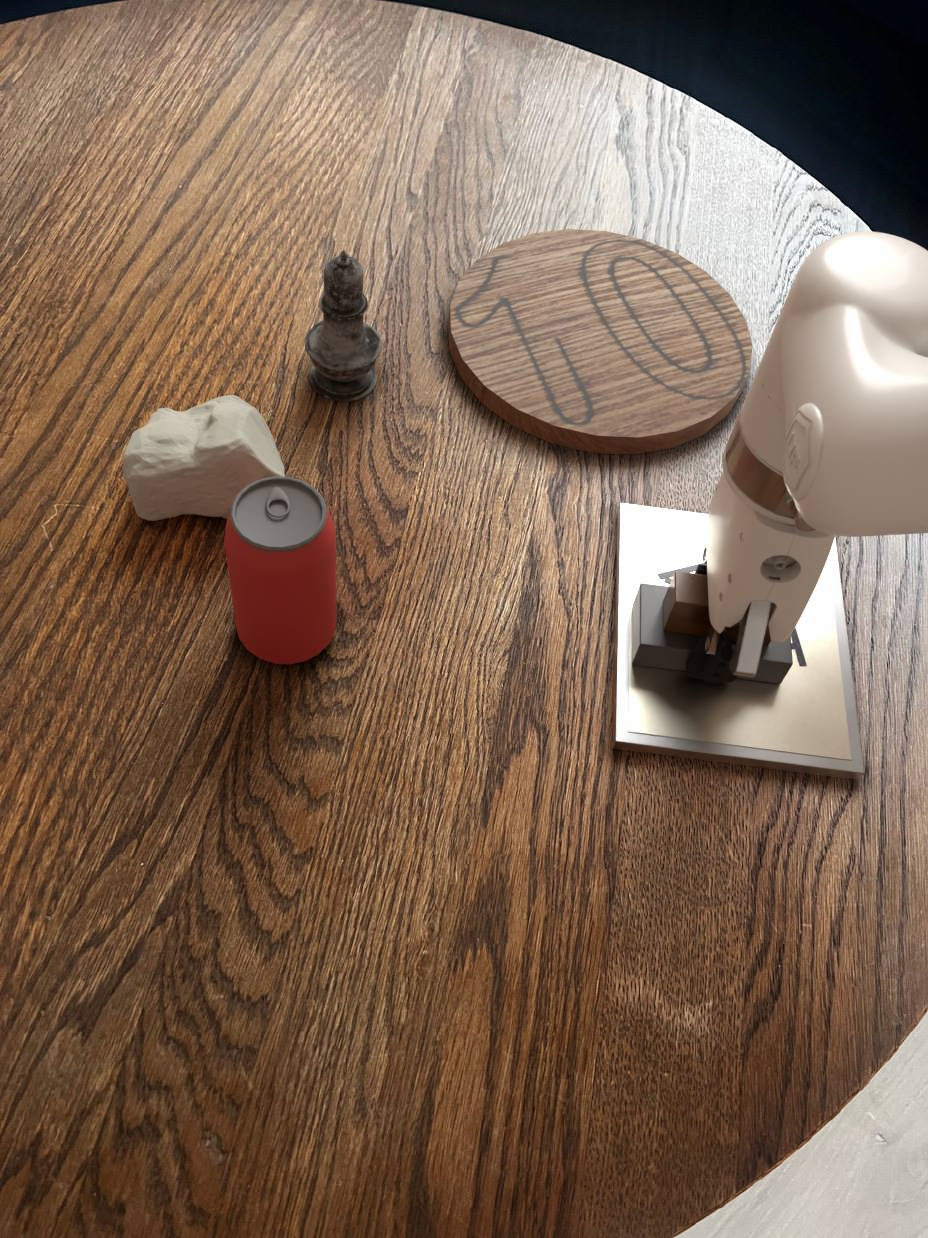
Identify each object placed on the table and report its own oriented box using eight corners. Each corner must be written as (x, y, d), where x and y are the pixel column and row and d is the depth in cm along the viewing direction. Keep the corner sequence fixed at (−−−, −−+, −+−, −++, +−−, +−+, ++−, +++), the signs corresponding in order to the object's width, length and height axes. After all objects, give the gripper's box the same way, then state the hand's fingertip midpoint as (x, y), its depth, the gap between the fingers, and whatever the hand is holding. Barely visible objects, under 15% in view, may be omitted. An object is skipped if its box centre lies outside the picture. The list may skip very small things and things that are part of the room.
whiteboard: (858, 780, 72) (865, 772, 71) (612, 748, 72) (615, 740, 71) (830, 539, 84) (835, 529, 83) (617, 511, 84) (620, 501, 83)
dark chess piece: (290, 380, 88) (283, 252, 78) (337, 341, 91) (336, 213, 81) (349, 415, 87) (351, 289, 77) (395, 374, 90) (402, 248, 80)
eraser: (776, 622, 78) (804, 572, 73) (780, 684, 75) (810, 636, 70) (632, 603, 77) (651, 551, 73) (631, 664, 75) (651, 615, 70)
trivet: (529, 489, 84) (532, 472, 82) (400, 279, 96) (401, 261, 95) (803, 410, 91) (812, 392, 90) (652, 224, 104) (657, 206, 102)
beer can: (331, 583, 77) (329, 464, 68) (342, 664, 74) (342, 551, 64) (233, 591, 76) (217, 472, 66) (239, 674, 73) (224, 560, 63)
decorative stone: (263, 396, 85) (283, 372, 75) (277, 518, 85) (299, 509, 76) (112, 406, 81) (113, 382, 72) (128, 533, 82) (131, 525, 72)
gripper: (885, 591, 56) (770, 760, 71) (851, 356, 66) (756, 548, 81) (735, 571, 56) (652, 744, 71) (724, 339, 66) (652, 534, 81)
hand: (708, 638), depth 76 cm, fingers closed on eraser, 5 cm apart
